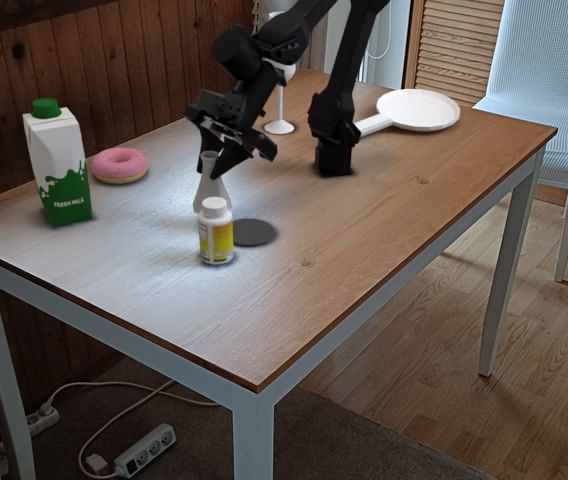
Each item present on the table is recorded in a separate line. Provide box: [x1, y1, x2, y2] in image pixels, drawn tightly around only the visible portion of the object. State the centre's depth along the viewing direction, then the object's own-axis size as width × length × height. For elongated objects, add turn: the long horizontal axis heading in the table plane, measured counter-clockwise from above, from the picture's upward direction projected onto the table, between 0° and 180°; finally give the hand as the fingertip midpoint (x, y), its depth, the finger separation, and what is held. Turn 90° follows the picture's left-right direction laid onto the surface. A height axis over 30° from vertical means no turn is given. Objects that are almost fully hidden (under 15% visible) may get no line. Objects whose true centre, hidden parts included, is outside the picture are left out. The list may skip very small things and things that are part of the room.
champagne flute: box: [264, 11, 297, 135], centre depth 160 cm, size 7×7×24 cm
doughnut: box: [90, 146, 149, 185], centre depth 146 cm, size 11×11×4 cm
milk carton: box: [22, 97, 93, 228], centre depth 129 cm, size 9×9×20 cm
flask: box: [192, 151, 234, 215], centre depth 128 cm, size 7×7×10 cm
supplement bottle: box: [197, 197, 234, 266], centre depth 121 cm, size 6×6×10 cm
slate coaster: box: [232, 218, 275, 248], centre depth 131 cm, size 9×9×1 cm
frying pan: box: [353, 88, 461, 139], centre depth 167 cm, size 35×19×5 cm, turn 128°
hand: (204, 175), depth 126 cm, fingers closed on flask, 3 cm apart
